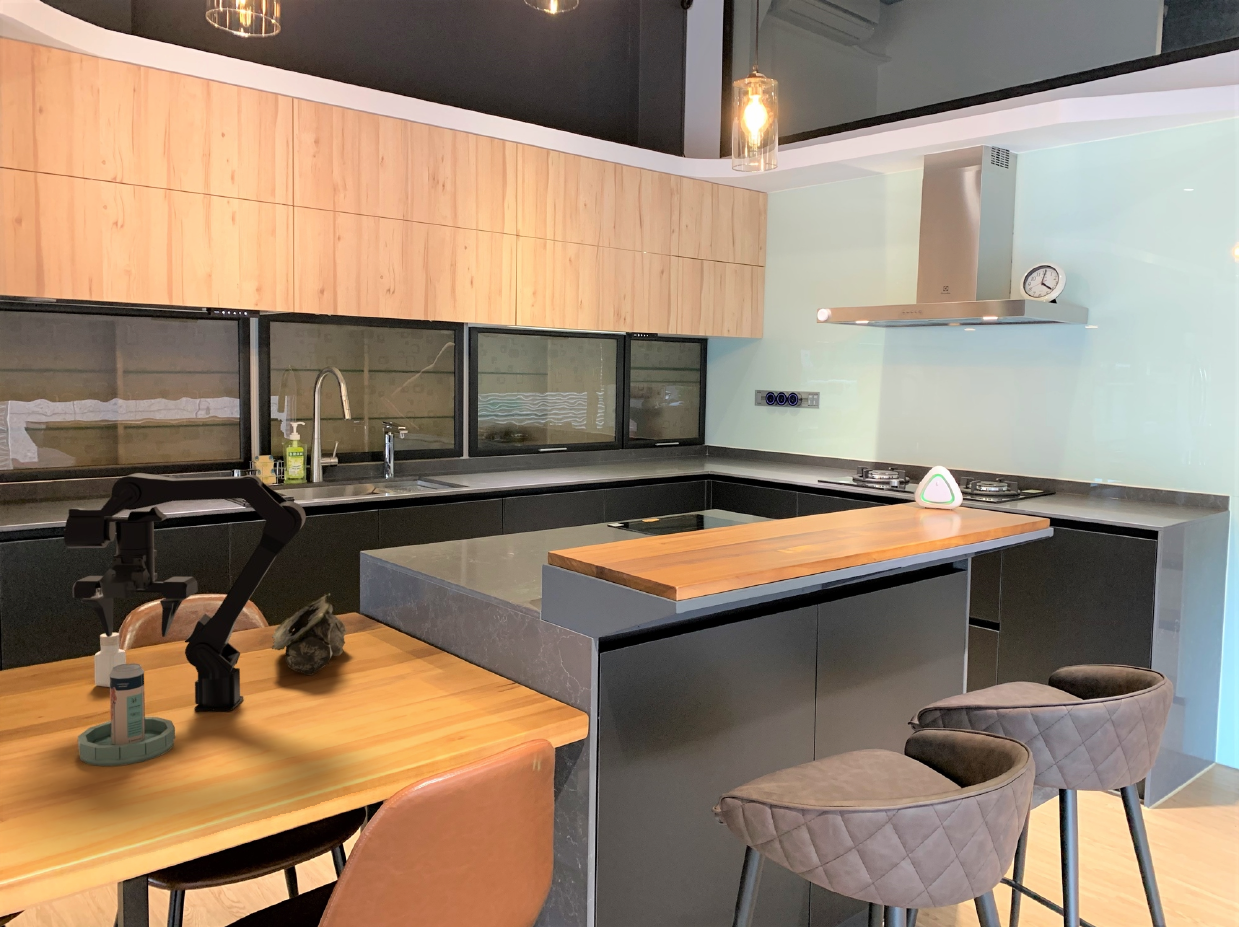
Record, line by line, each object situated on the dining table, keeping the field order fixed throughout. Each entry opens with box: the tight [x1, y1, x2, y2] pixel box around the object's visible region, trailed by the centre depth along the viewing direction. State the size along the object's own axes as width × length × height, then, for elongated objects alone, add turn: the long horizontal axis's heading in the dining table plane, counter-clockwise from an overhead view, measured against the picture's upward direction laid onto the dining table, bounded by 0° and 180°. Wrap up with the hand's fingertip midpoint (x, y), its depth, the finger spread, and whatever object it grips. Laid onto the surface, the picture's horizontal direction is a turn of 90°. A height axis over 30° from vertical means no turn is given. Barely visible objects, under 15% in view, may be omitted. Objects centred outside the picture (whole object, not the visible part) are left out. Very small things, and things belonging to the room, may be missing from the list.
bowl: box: [77, 716, 176, 767], centre depth 145 cm, size 13×13×3 cm
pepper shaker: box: [94, 632, 127, 688], centre depth 175 cm, size 4×4×10 cm
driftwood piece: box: [270, 592, 347, 676], centre depth 192 cm, size 28×13×15 cm
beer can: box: [109, 662, 146, 745], centre depth 145 cm, size 5×5×12 cm
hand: (137, 636), depth 161 cm, fingers open, 9 cm apart
